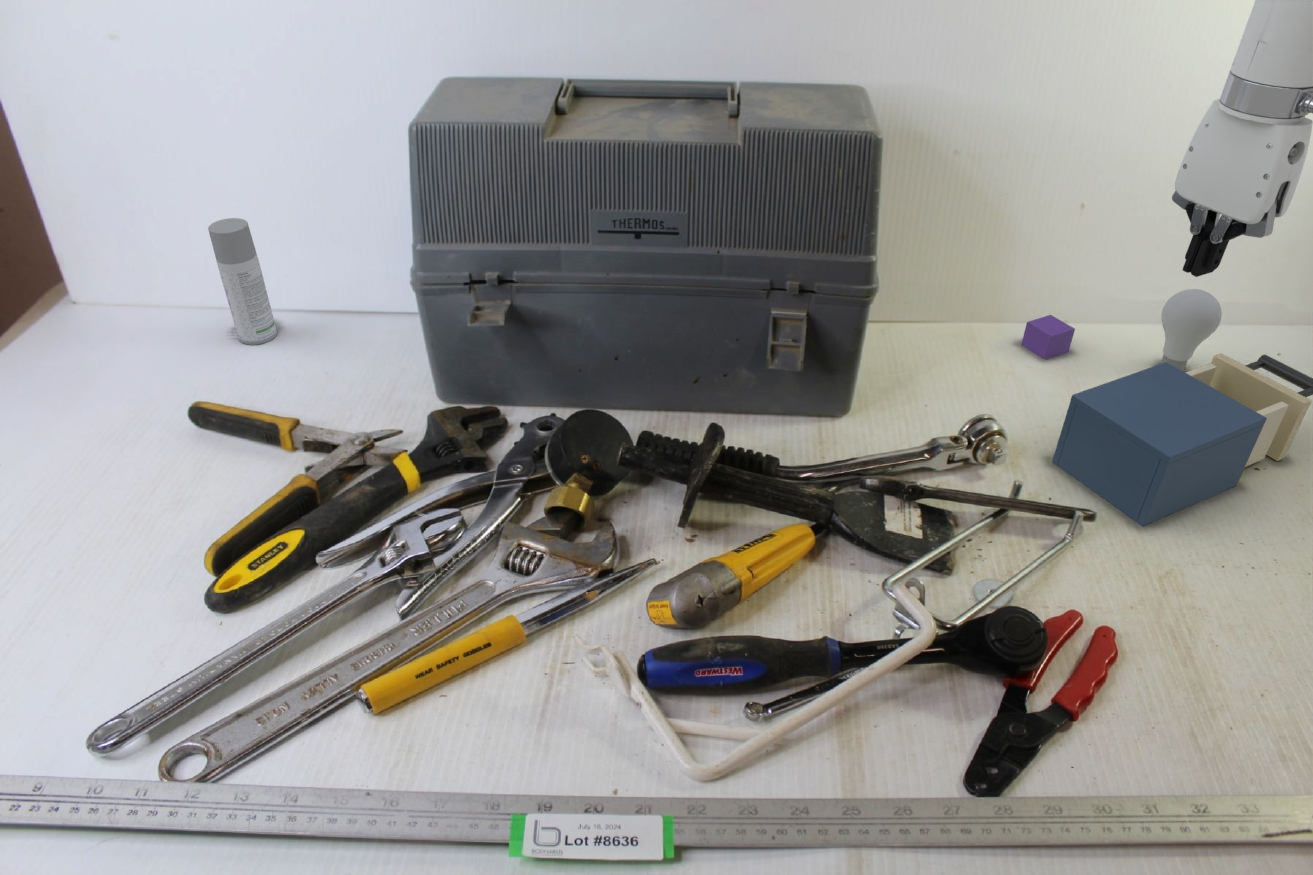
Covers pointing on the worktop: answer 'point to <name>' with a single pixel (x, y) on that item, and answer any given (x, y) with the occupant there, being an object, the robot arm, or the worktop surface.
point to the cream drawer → (1262, 398)
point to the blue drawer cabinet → (1156, 442)
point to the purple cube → (1047, 337)
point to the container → (242, 280)
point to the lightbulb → (1188, 324)
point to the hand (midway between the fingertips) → (1198, 271)
